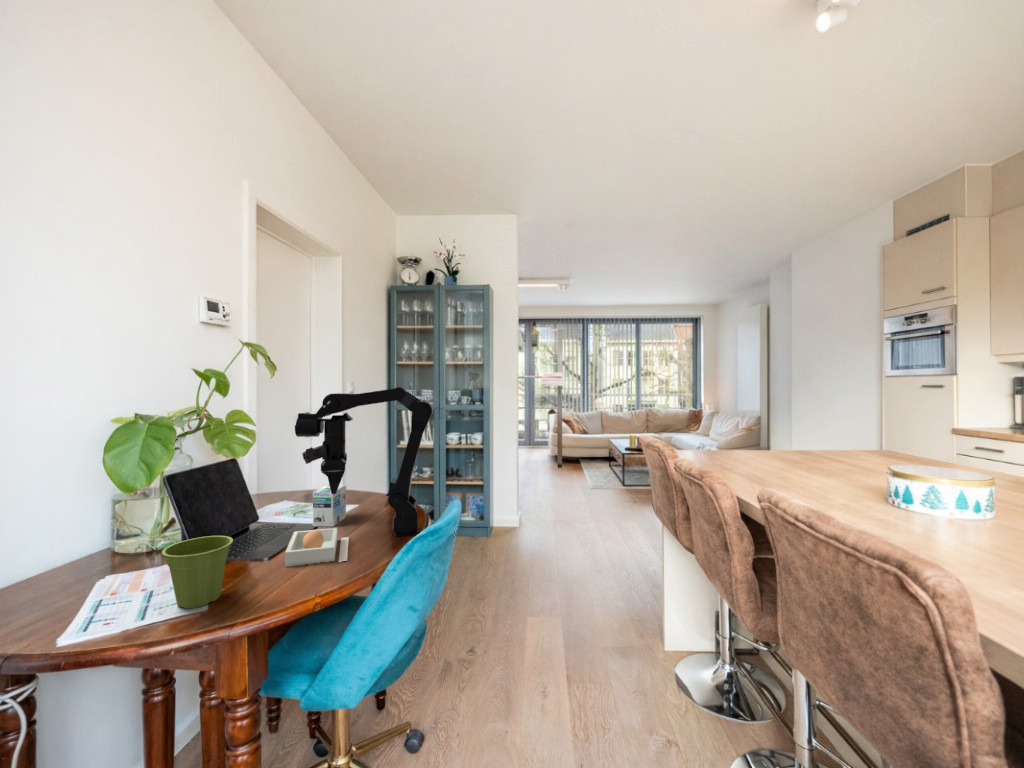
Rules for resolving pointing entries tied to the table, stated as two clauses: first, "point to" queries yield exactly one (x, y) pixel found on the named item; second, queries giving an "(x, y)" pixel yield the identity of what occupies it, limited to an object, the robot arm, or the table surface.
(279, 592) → the table surface
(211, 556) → the plant pot
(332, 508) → the light bulb box
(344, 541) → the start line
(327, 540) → the tray
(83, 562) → the table surface
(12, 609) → the table surface
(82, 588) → the table surface
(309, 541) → the ball
